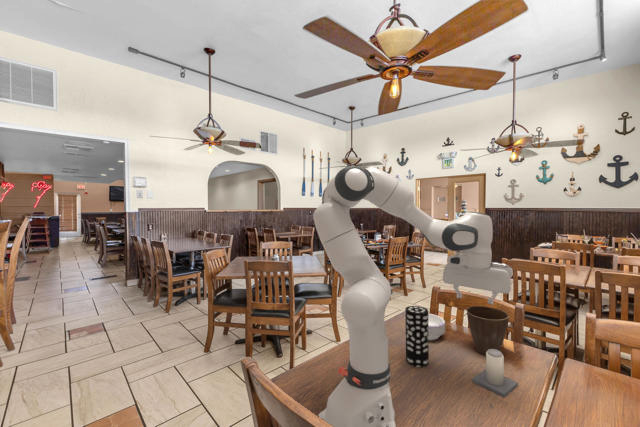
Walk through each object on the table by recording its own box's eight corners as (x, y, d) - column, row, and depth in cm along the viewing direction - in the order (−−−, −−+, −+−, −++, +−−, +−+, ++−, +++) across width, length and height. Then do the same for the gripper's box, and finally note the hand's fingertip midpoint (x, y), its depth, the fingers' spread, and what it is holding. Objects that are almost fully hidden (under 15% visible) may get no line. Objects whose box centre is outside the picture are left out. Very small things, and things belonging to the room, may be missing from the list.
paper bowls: (435, 347, 123) (435, 328, 123) (403, 335, 134) (403, 318, 134) (451, 335, 133) (451, 318, 133) (420, 326, 144) (419, 310, 144)
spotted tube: (430, 368, 107) (430, 314, 107) (406, 366, 109) (406, 313, 108) (426, 356, 115) (426, 306, 115) (404, 354, 117) (404, 305, 116)
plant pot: (506, 365, 108) (506, 322, 108) (462, 353, 118) (462, 313, 117) (511, 349, 120) (511, 311, 120) (470, 339, 129) (470, 303, 129)
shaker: (496, 386, 94) (496, 356, 94) (482, 378, 99) (482, 349, 99) (507, 383, 96) (507, 353, 96) (493, 375, 101) (493, 347, 100)
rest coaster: (504, 397, 91) (504, 394, 91) (471, 381, 99) (471, 378, 99) (518, 385, 96) (518, 382, 96) (486, 371, 105) (486, 368, 105)
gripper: (513, 263, 95) (511, 305, 95) (446, 255, 107) (445, 292, 107) (512, 266, 90) (510, 311, 90) (442, 257, 102) (440, 296, 102)
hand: (474, 300), depth 99 cm, fingers open, 8 cm apart
